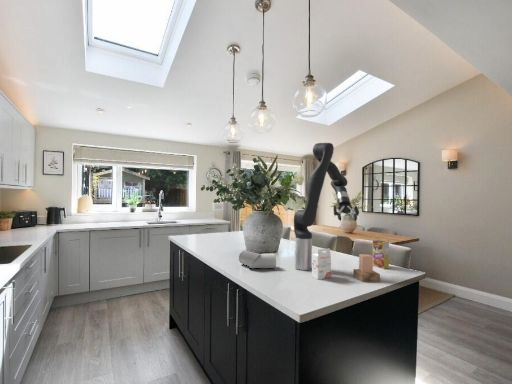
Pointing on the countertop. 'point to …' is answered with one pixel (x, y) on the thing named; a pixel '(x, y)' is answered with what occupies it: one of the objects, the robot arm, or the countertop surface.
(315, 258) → the ink cartridge box
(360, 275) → the walnut block
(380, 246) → the candy box
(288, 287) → the countertop surface
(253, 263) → the bent grey cylinder
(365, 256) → the terracotta block
